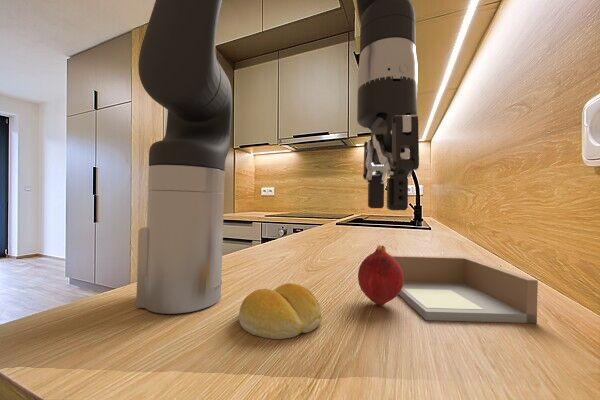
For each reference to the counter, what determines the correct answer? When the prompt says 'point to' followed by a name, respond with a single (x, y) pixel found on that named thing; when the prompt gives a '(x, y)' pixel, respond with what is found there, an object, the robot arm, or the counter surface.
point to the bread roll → (280, 312)
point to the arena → (466, 290)
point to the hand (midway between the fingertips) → (385, 209)
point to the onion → (380, 276)
